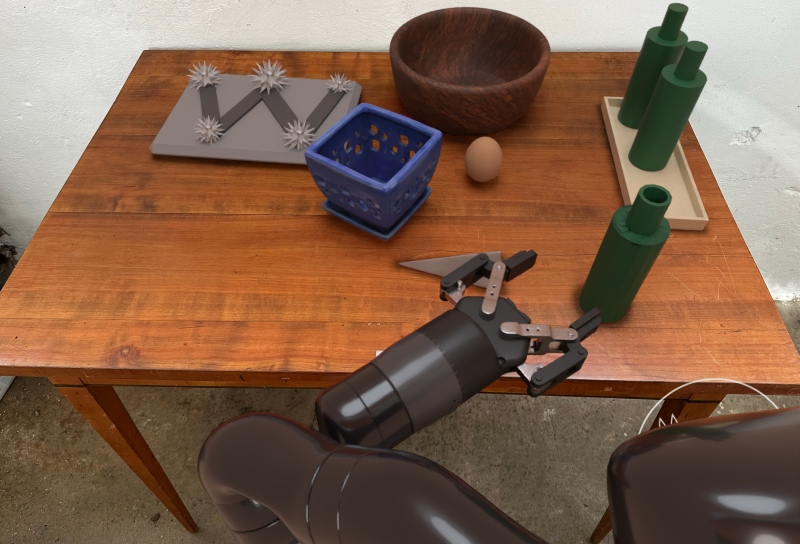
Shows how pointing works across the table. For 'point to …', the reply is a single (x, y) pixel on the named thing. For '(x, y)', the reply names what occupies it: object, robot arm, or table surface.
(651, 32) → the row bottle
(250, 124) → the cassiopeia constellation model
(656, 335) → the table surface
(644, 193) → the bottle
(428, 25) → the wooden bowl
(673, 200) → the tray
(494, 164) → the egg
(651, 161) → the row bottle
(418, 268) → the grey triangular spike
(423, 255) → the table surface
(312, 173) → the flower pot
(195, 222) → the table surface
